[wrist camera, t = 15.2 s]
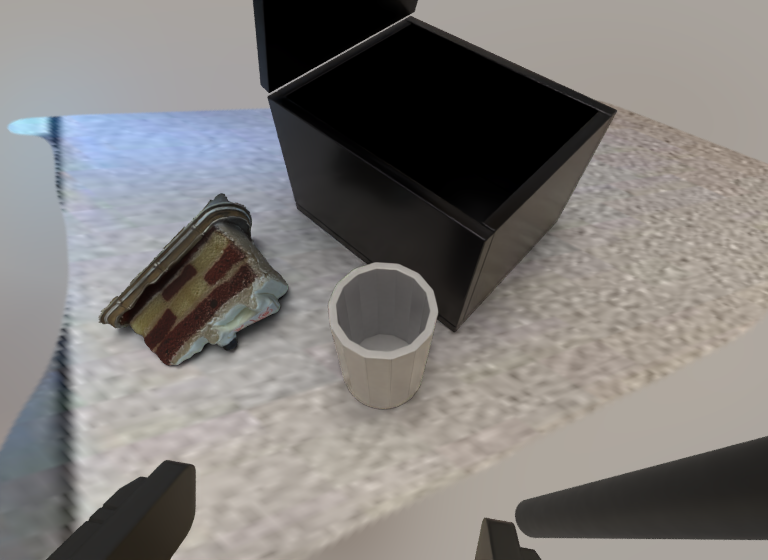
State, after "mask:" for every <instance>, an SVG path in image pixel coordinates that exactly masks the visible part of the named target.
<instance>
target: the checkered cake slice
mask: <svg viewBox="0 0 768 560" xmlns="http://www.w3.org/2000/svg"><path fill="white" fill-rule="evenodd" d="M251 225H252V218H251V215H250V212H249V211H248V210H247V209H246V207H244V205H241V204H238V203H232V202H229V201H228V199H227V197H225V194H219V195H217V196H216V197H215V199H214V200H210V201H209V203H208V204H207V205H206V206H205V208H204V209H203V210H202V211H201V212H200V213H199V214H198V215H197V217H195V218H193V220H192V221H191V222H190V223H189V224H188V225H187V226H186V227H183V229H182V230H181V231H180V232H179V233H178V234H177V235H176V237H174V238H173V239H172V240H171V242H170V243H168V244H167V245H166V246H165V247H164V248H163V249H164V250H163V251H161V252H160V253H159V255H158V256H157V257H155V258H154V260H153V261H152V262H151V263H150V264H149V265H148V267H146V268H145V269H144V270H143V271H142V272H141V273H139V274H138V276H137V277H136V278H135V279H133V280H132V282H131V283H130V286H128V287H127V288H126V290H125V291H124V292H122V294H121V295H120V296H119V297H118V296H116V297H115V298H114V299H113V300H112V301H111V302H110V304H109V305H108V306H107V307H106V308H105V309H103V310H102V311H101V312H102V313H101V315H100V316H99V320H100V322H99V323H102V324H110V325H112V326H113V327H115V328H122V327H127V326H131V327H132V328H133V329H134V331H135V332H136V333H137V334H140V335H142V336H143V337H144V341H145V343H146V345H147V346H148V347H149V348H150V349H151V351H152V352H154V353H156V354H157V355H158V357H159V358H160V360H161V361H162V362H163V363H164V364H166V365H178V364H180V363H181V362H182V361H184V360H185V359H189V358H190V357H191V356H192V355H193V354H195V353H197V352H200V351H201V350H202V348H203V346H204V345H205V344H206V343H211V344H213V345H214V344H216V343H217V344H218V345H219V346H221V347H223V348H224V349H225V350H231V349H234V348H235V347H236V346H237V340H236V332H238V331H240V330H241V329H243V328H245V327H247V326H248V325H250V324H252V323H254V322H256V321H259V320H261V319H263V318H265V317H267V316H269V315H271V314H274V313H276V312H277V311H278V310H279V309H280V304H279V302H278V298H279V297H281V296H283V295H284V294H285V293H286V292H287V290H288V284H287V283H286V281H285V280H284V279H283V278H282V276H281V275H280V274H279V273H278V272H277V271H275V270H274V269H273V268H272V267H271V266H270V265H269V263H268V262H267V260H266V259H265V258H264V257H263V255H262V254H261V253H260V251H258V249H257V248H256V247H255V246H254V244H253V239H252V238H251Z"/></svg>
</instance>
